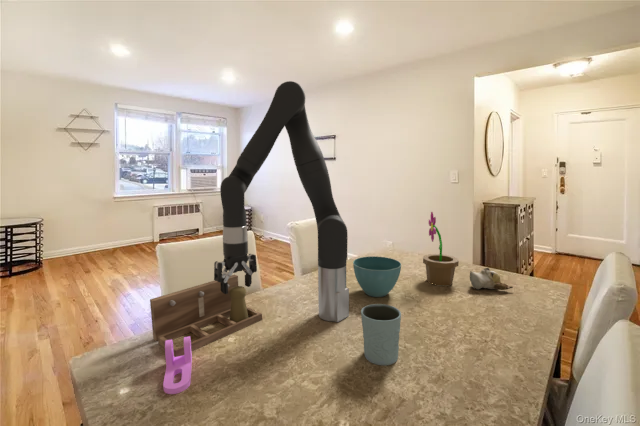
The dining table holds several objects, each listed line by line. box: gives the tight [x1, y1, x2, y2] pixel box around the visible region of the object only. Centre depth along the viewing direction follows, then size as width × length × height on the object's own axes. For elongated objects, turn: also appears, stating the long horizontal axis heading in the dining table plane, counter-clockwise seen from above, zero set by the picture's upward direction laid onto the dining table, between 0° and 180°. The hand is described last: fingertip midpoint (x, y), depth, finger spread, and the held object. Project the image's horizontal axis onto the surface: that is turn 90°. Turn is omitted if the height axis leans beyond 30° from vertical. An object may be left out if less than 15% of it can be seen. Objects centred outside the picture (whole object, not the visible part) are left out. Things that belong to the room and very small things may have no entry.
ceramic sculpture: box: [469, 267, 514, 291], centre depth 129 cm, size 11×9×15 cm
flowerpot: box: [422, 211, 460, 286], centre depth 135 cm, size 14×14×30 cm
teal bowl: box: [352, 255, 402, 298], centre depth 125 cm, size 18×18×12 cm
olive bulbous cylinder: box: [229, 285, 249, 323], centre depth 103 cm, size 6×6×11 cm
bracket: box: [162, 335, 193, 395], centre depth 76 cm, size 13×6×7 cm, turn 20°
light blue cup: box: [360, 303, 402, 366], centre depth 83 cm, size 10×10×12 cm
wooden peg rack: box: [149, 274, 263, 357], centre depth 98 cm, size 14×28×12 cm, turn 139°
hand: (236, 289), depth 103 cm, fingers open, 8 cm apart
